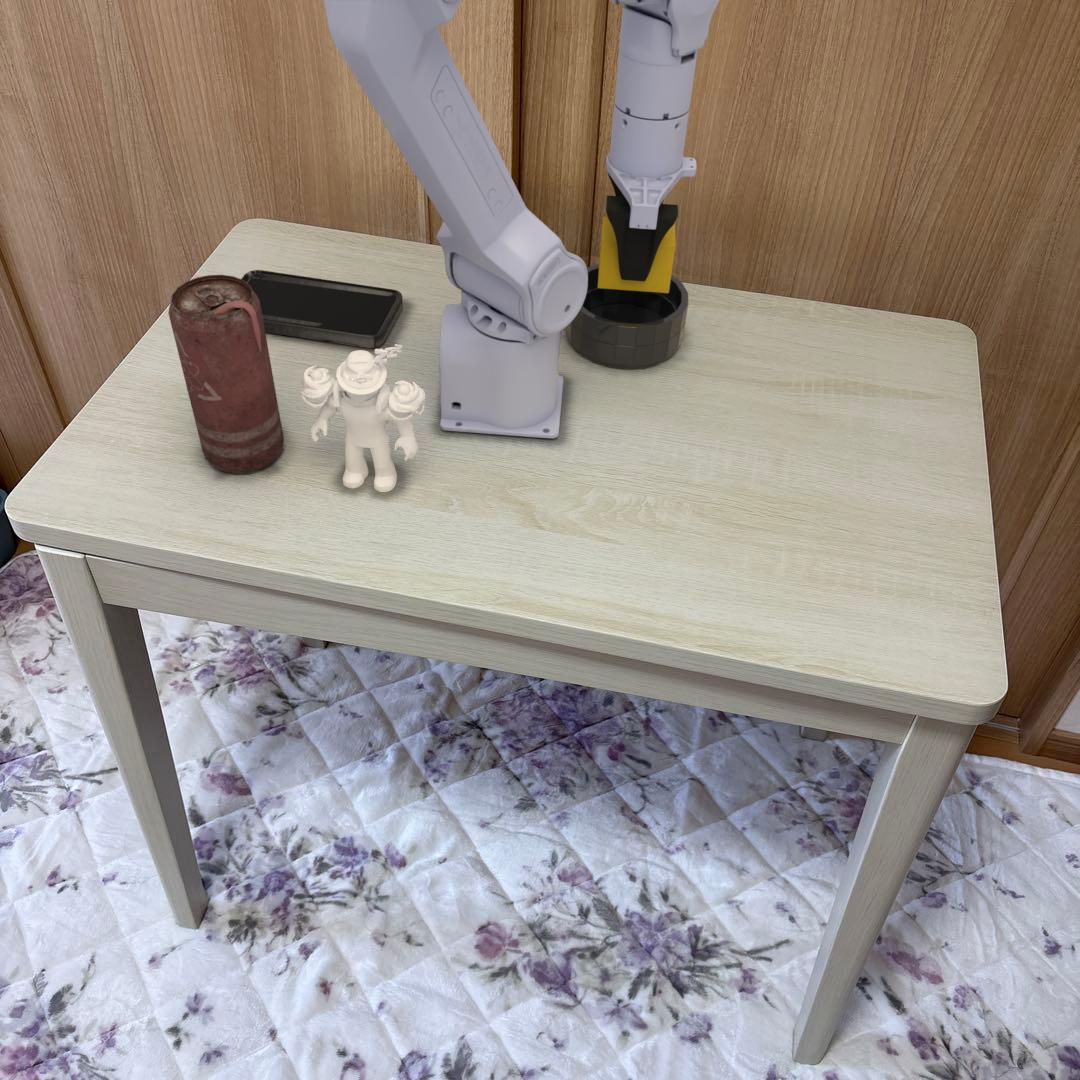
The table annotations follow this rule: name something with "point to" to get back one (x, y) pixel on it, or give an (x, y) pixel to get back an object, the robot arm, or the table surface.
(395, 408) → the flower shoulder figurine
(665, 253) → the sponge
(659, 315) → the bowl
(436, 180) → the robot arm
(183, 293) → the can
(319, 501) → the table surface
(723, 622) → the table surface
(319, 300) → the phone
